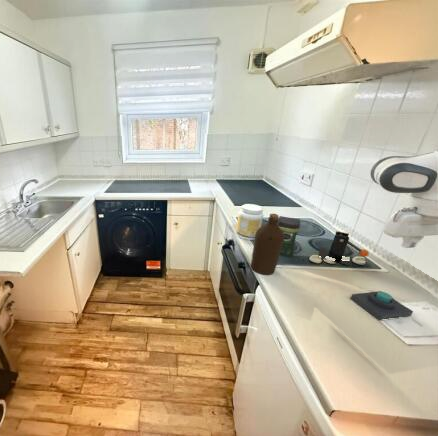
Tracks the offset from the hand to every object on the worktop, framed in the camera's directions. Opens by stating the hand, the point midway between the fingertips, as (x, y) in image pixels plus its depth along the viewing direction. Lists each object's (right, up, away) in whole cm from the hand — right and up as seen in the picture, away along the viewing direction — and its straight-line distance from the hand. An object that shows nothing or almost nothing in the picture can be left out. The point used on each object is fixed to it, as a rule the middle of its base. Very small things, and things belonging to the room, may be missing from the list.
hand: (407, 246), depth 77 cm
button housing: (-5, -21, +4) cm, 22 cm away
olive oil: (-35, -13, +25) cm, 45 cm away
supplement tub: (-29, 0, +54) cm, 62 cm away
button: (-5, -18, +3) cm, 19 cm away
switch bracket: (+1, -9, +32) cm, 34 cm away
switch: (+5, -4, +27) cm, 28 cm away
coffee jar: (-20, -8, +37) cm, 43 cm away
